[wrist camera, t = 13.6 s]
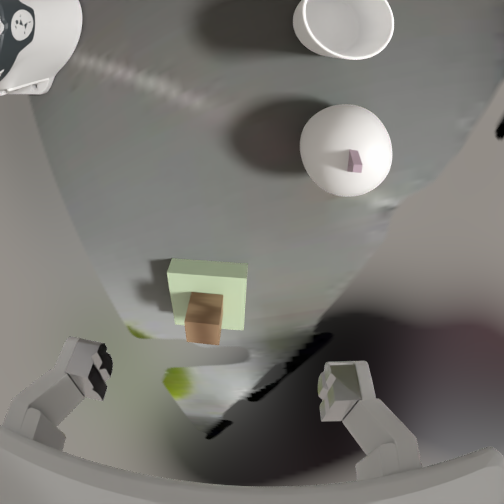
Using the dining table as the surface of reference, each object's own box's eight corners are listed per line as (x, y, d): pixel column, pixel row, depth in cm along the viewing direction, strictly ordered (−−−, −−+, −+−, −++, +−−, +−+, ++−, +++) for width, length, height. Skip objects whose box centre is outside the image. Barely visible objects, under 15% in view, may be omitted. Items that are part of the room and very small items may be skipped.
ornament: (284, 112, 35) (292, 139, 25) (362, 88, 33) (401, 107, 23) (311, 183, 41) (326, 233, 31) (382, 161, 38) (418, 204, 28)
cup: (279, 35, 29) (284, 29, 21) (326, -39, 23) (346, -65, 15) (341, 69, 31) (367, 76, 23) (386, -3, 25) (424, -14, 17)
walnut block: (192, 312, 51) (186, 341, 47) (191, 291, 48) (184, 321, 43) (222, 315, 51) (219, 345, 47) (223, 294, 48) (219, 324, 44)
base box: (179, 308, 57) (175, 324, 53) (172, 256, 49) (166, 272, 46) (244, 313, 57) (243, 330, 53) (247, 261, 49) (246, 278, 46)
